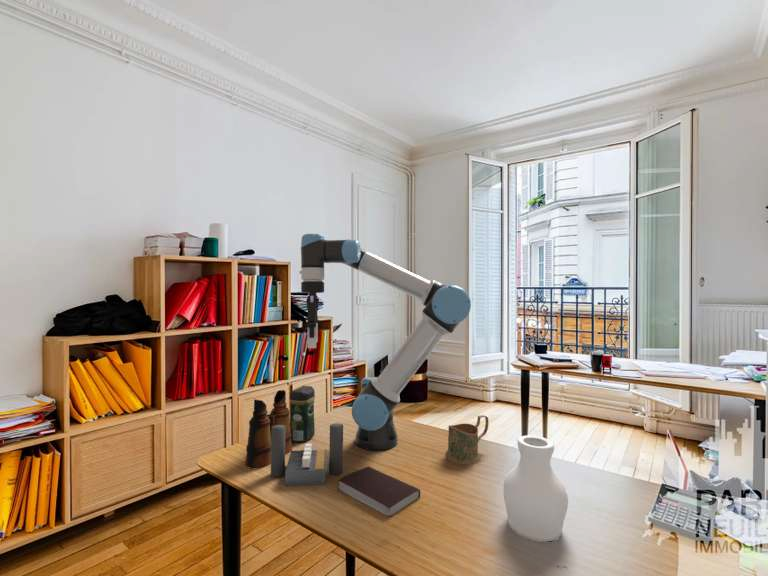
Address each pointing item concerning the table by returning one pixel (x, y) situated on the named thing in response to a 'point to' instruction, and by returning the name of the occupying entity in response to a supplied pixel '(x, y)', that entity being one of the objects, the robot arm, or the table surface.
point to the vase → (535, 492)
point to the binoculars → (266, 431)
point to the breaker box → (306, 469)
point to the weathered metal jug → (464, 442)
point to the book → (378, 490)
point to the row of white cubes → (307, 455)
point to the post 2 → (336, 449)
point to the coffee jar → (302, 414)
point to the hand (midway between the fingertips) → (312, 345)
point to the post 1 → (278, 451)
